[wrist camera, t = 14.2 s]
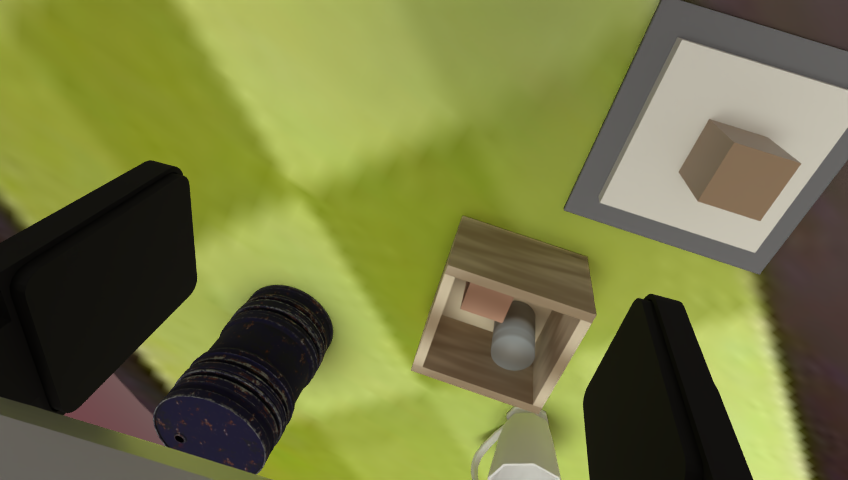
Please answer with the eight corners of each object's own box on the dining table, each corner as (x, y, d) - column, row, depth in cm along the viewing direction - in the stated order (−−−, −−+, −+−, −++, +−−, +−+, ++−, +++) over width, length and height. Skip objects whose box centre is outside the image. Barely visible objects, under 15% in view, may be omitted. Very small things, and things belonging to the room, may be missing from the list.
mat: (663, -6, 32) (664, -5, 31) (911, 70, 31) (915, 72, 31) (563, 208, 40) (563, 210, 40) (757, 271, 39) (759, 274, 39)
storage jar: (318, 280, 49) (239, 394, 36) (345, 357, 53) (284, 483, 40) (231, 287, 52) (130, 394, 39) (264, 359, 56) (183, 478, 43)
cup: (575, 429, 52) (580, 502, 45) (495, 456, 56) (489, 526, 49) (538, 385, 50) (537, 453, 43) (458, 416, 54) (446, 483, 47)
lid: (677, 36, 32) (704, 52, 27) (859, 92, 32) (923, 119, 27) (598, 196, 39) (607, 234, 33) (749, 245, 38) (783, 291, 33)
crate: (462, 215, 42) (447, 264, 35) (587, 256, 42) (596, 314, 35) (429, 311, 48) (410, 370, 41) (538, 349, 47) (538, 414, 41)
